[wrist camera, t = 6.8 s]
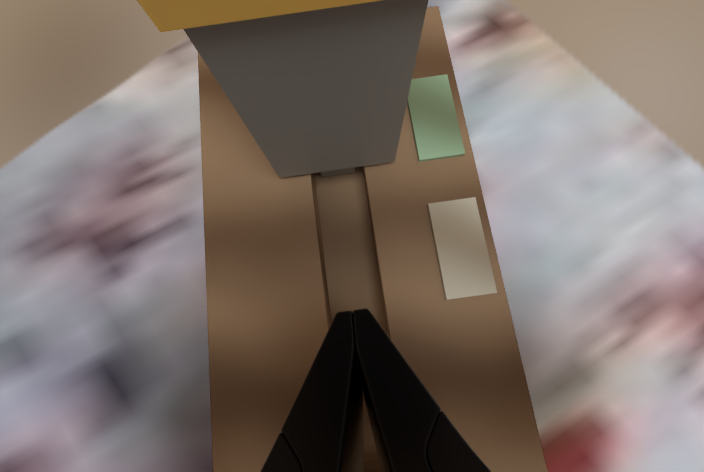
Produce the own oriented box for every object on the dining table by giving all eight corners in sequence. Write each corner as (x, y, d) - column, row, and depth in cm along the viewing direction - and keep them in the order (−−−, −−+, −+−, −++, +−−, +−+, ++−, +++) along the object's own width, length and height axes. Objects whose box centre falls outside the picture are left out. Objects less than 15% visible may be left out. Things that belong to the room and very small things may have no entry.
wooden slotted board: (525, 485, 14) (563, 527, 11) (242, 523, 14) (214, 574, 11) (428, 45, 19) (439, 2, 16) (219, 75, 19) (195, 37, 16)
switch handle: (398, 182, 16) (471, -84, 5) (283, 198, 16) (113, -32, 5) (383, 98, 17) (418, -271, 6) (275, 113, 17) (119, -227, 6)
